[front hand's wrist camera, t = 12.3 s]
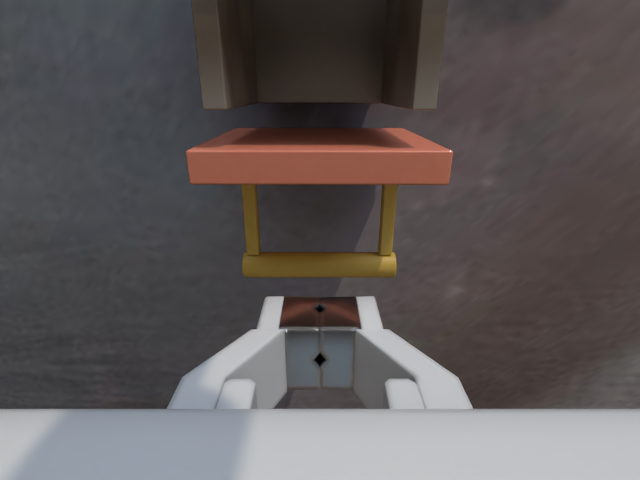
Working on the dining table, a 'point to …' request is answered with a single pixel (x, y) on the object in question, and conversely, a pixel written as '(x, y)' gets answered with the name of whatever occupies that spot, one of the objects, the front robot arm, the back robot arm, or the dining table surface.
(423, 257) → the dining table surface
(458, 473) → the front robot arm
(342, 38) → the drawer
